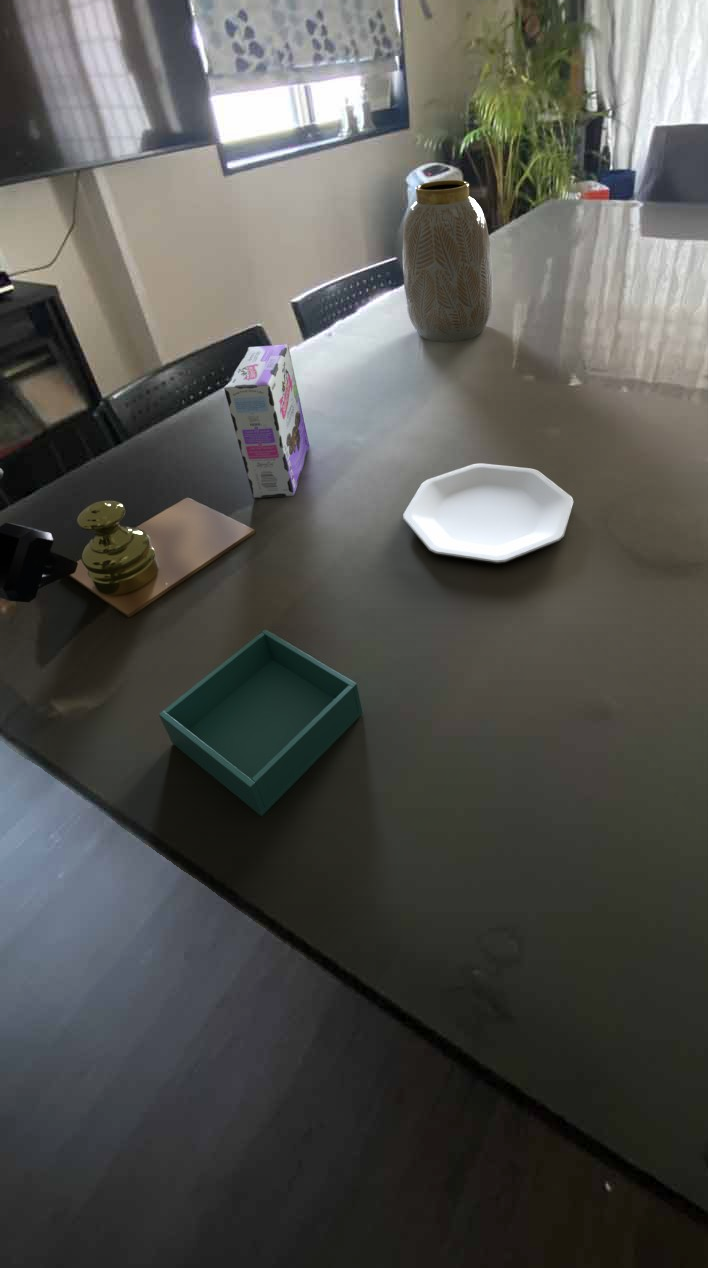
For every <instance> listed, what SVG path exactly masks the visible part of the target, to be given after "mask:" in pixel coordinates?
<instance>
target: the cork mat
mask: <svg viewBox="0 0 708 1268" xmlns="http://www.w3.org/2000/svg"><path fill="white" fill-rule="evenodd" d="M135 528H139V529H141V530H143V531H145V532H146V533H147V534H148V536H149V538H150V542H151V547H153V549H154V550H155V555H156V557H157V560H158V562H159V569H158V572H157V574H156V575H155V577H154V578H153V579H152V580H151V581H150V582H149V583H147V584H146V585H145V586H143V587H141V588H139V589H137V590H135V591H133V592H130V593H126V594H121V595H107V594H103V593H101V592H99V591H97V590H96V588H95V586H94V584H93V582H92V580H91V578H90V577H89V575H88V569H87V568H86V567H85V566H84V565H83V563H82V560H81V559H79V560H77V561H76V562H78V565H77V569H76V572H75V573H73V574H71V575H69V576H68V577H69V578H71V579H73V580H74V581H75V582H77V583H78V584H79V585H81V586H83V588H85V589H87V590H88V591H90V593H93V594H94V595H96V596H97V597H98V598H99V599H100V600H102V601H104V602H106V603H107V604H108V605H110V606H111V607H112V608H114V609H116V611H119V612H120V613H121V614H123V615H124V616H125V617H127V618H131V617H133V616H134V615H135V614H137V613H138V612H140V611H141V610H143V609H144V608H146V607H147V606H149V605H151V604H152V603H153V602H154V601H156V600H158V599H159V598H161V597H162V596H164V595H165V594H167V593H168V592H169V591H171V590H173V589H174V588H176V587H177V586H179V585H180V584H182V583H183V582H184V581H186V580H188V579H189V578H190V577H193V575H195V574H196V573H198V572H199V571H201V570H202V569H204V568H205V567H207V566H208V565H210V564H212V562H214V561H215V560H217V559H219V558H220V557H221V556H223V555H224V554H226V553H227V552H229V551H230V550H232V549H233V548H235V547H236V546H238V545H239V544H241V543H242V542H244V541H245V540H247V539H248V538H250V537H252V536H253V535H254V534H256V531H255V529H254V528H252V527H250V526H248V525H246V524H244V523H242V522H240V521H237V520H235V519H233V518H231V517H229V516H227V515H225V514H224V513H221V512H219V511H217V510H216V509H213V508H210V507H209V506H207V505H204V504H202V503H200V502H198V501H196V500H194V499H192V498H189V497H188V496H187V497H186V498H183V499H182V500H179V502H177V503H175V504H173V505H171V506H170V507H168V508H166V509H164V510H163V511H160V512H159V513H158V514H156V515H154V516H153V517H151V518H149V519H148V520H146V521H143V522H142V523H140V524H139V525H137V526H136V527H135Z"/></svg>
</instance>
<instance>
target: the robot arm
mask: <svg viewBox="0 0 708 1268" xmlns="http://www.w3.org/2000/svg"><path fill="white" fill-rule="evenodd" d="M3 477H4V470H3V469H2V468H1V467H0V481H1V480H2V479H3ZM53 545H54V538H53V535H52V533H51V532H48V531H45V530H43V529H38V528H34V527H30V526H26V525H21V524H17V523H12V522H7V521H5V523H3V524H0V599H3V600H6V601H9V602H17V603H31V602H32V601H33V600H35V599H36V598H37V594H38V591H39V589H42V588H43V587H46V586H47V585H50V584H52V583H55V582H57V581H60V580H62V579H64V578H67V577H69V575H71V574H73V573H75V572H76V569H77V565H78V562H77V561H76V560H74V559H71V558H69V557H67V556H64V555H63V554H60V553H58V552H55V551H53V550H52V547H53Z"/></svg>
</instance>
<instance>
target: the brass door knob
mask: <svg viewBox="0 0 708 1268" xmlns="http://www.w3.org/2000/svg"><path fill="white" fill-rule="evenodd" d="M125 514H126V507H125V505H124V504H123V503H122V502H120V501H117V500H102V501H95V502H93V503H92V504H90V505H88V506H87V507H86V508H84V509H83V510H82V511H81V512H80V513H79V514H78V515H77V517H76V523H77V525H78V526H79V528H80V529H82V530H85V531H89V532H90V531H91V532H93V533H94V534H93V536H92V537H91V539H90V540H89V541H88V542H87V543H86V544H85V546H84V547H83V549H82V551H81V555H80V560H82V563H83V565H84V566H85V567H86V568H87V569H88V575H89V577H90V578H91V580H92V582H93V584H94V586H95V588H96V590H97V591H99V592H101V593H103V594H107V595H121V594H126V593H130V592H133V591H135V590H137V589H139V588H141V587H143V586H145V585H146V584H147V583H149V582H150V581H151V580H152V579H153V578H154V577H155V575H156V574H157V572H158V569H159V562H158V560H157V557H156V555H155V550H154V549H153V547H151V542H150V538H149V536H148V534H147V533H146V532H145V531H143V530H141V529H139V528H136V527H135V526H127V525H121V524H120V521H121V520H122V519H123V518H124V516H125Z"/></svg>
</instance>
